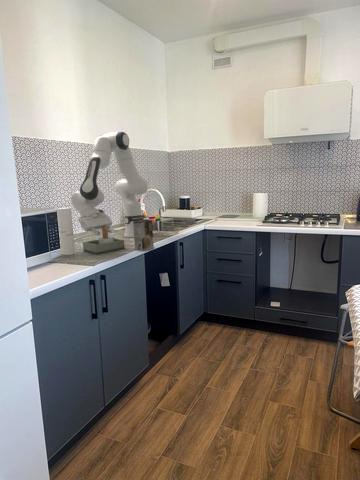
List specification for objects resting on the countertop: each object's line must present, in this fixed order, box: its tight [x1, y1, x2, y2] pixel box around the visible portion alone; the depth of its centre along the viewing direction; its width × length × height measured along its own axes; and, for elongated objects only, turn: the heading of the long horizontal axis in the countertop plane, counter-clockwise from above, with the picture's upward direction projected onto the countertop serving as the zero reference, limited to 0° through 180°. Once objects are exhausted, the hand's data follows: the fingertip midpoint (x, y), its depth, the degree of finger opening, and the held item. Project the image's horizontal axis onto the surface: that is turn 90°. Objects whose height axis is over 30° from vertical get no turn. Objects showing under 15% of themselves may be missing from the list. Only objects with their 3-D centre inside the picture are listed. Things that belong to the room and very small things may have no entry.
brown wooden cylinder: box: [101, 225, 109, 239], centre depth 201 cm, size 3×3×13 cm
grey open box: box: [82, 235, 125, 255], centre depth 204 cm, size 18×15×7 cm
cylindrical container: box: [56, 207, 76, 256], centre depth 195 cm, size 7×7×25 cm
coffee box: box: [133, 219, 155, 252], centre depth 200 cm, size 9×6×16 cm
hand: (104, 233), depth 201 cm, fingers open, 8 cm apart
